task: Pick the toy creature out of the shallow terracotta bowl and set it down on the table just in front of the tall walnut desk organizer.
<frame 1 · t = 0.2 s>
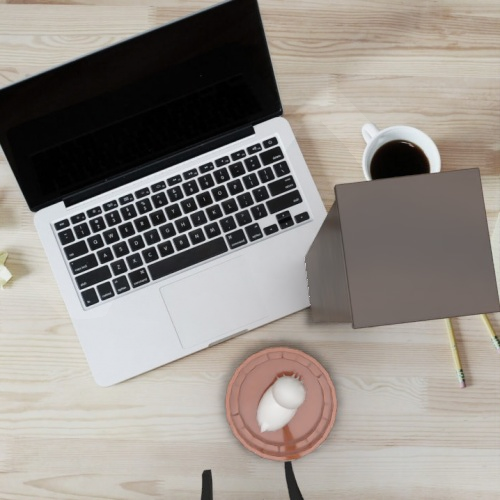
hand: (247, 467, 67), 20 cm above the table, tool horizontal, fingers open, 7 cm apart
organizer: (340, 285, 88), on the table
toy creature: (280, 400, 87), resting on bowl
bowl: (280, 400, 87), on the table
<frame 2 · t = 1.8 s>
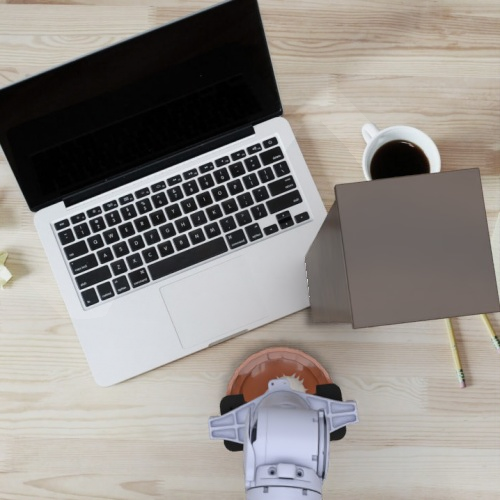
hand: (281, 409, 78), 9 cm above the table, tool pointing down, fingers open, 7 cm apart
nothing on the table moved.
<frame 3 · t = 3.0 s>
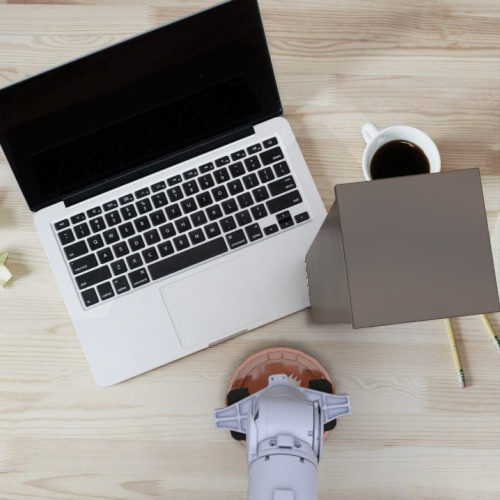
hand: (280, 402, 85), 3 cm above the table, tool pointing down, fingers closed on toy creature, 6 cm apart
toy creature: (278, 401, 87), resting on bowl, touching gripper
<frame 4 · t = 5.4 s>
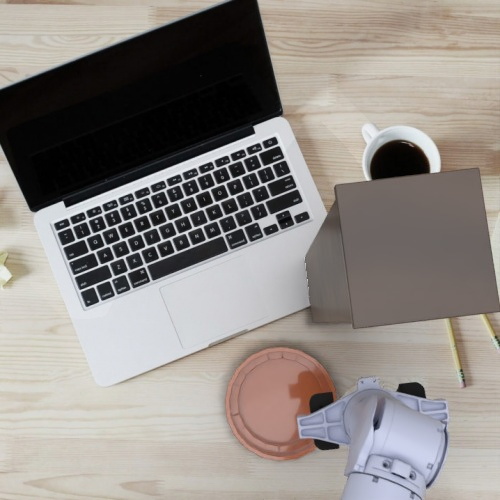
hand: (361, 407, 78), 9 cm above the table, tool pointing down, fingers closed on toy creature, 6 cm apart
toy creature: (356, 405, 80), point 7 cm above the table, touching gripper
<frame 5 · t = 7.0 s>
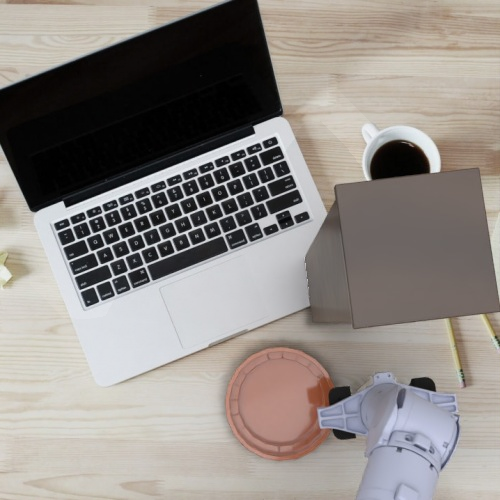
hand: (375, 401, 84), 3 cm above the table, tool pointing down, fingers closed on toy creature, 6 cm apart
toy creature: (370, 399, 86), point 1 cm above the table, touching gripper
when the fingers open (2 cm above the table, at t = 8.1 s): toy creature stays where it is, on the table.
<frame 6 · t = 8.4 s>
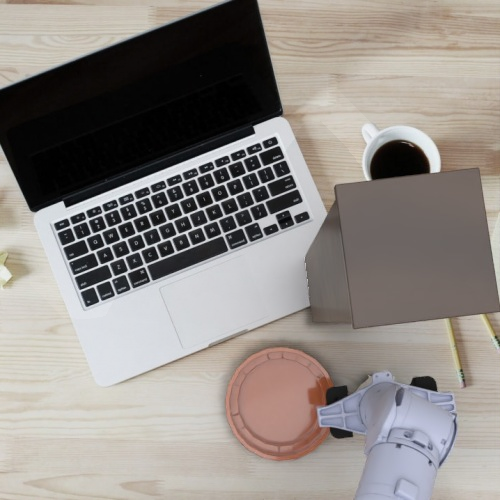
hand: (374, 400, 84), 2 cm above the table, tool pointing down, fingers open, 7 cm apart
toy creature: (369, 398, 87), on the table
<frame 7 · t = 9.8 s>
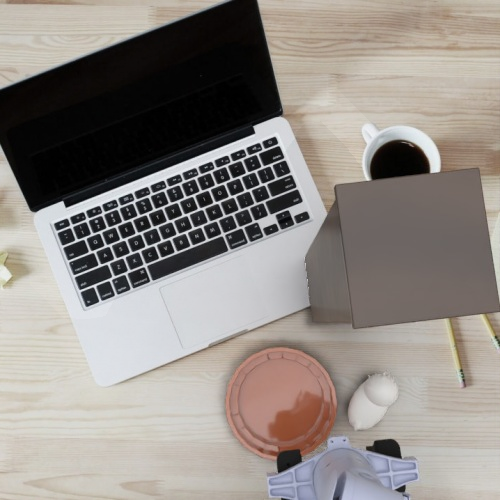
hand: (334, 460, 77), 9 cm above the table, tool pointing down, fingers open, 7 cm apart
nothing on the table moved.
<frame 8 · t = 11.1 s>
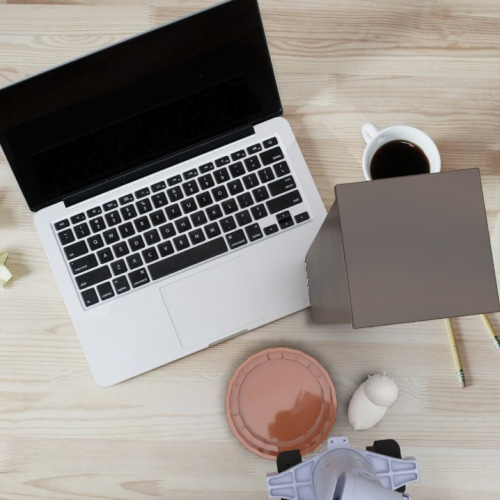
hand: (334, 460, 77), 9 cm above the table, tool pointing down, fingers open, 7 cm apart
nothing on the table moved.
at the end: toy creature inside the target area on the table beside the organizer (1.0 cm from its centre), on the table; toy creature touching table; the gripper is holding nothing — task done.
